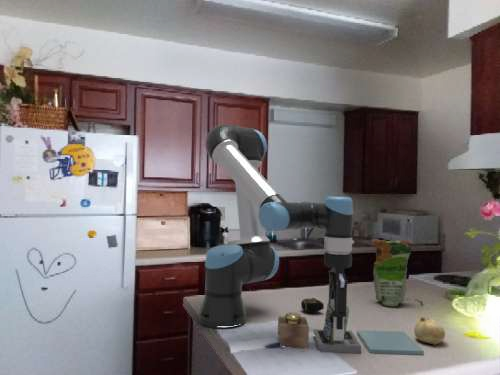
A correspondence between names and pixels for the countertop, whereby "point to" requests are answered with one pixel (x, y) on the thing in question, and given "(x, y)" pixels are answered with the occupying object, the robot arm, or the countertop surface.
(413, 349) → the light blue square tile
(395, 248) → the pouch
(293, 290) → the countertop surface
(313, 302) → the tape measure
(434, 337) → the onion
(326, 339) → the beverage can
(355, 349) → the socket collar
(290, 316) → the plunger
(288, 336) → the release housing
